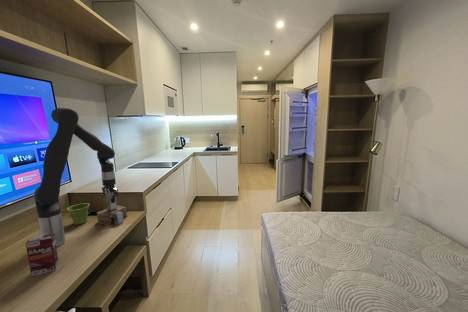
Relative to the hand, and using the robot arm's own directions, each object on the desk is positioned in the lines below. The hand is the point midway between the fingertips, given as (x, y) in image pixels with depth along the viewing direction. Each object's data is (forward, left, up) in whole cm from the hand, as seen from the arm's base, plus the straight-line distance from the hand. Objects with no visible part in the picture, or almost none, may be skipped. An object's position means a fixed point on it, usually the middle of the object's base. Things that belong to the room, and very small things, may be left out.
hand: (111, 202), depth 138 cm
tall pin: (0, 0, -9) cm, 9 cm away
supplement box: (-46, -19, -13) cm, 51 cm away
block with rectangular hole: (0, 0, -13) cm, 13 cm away
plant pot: (-12, +16, -13) cm, 24 cm away
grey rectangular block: (-2, -8, -13) cm, 15 cm away
